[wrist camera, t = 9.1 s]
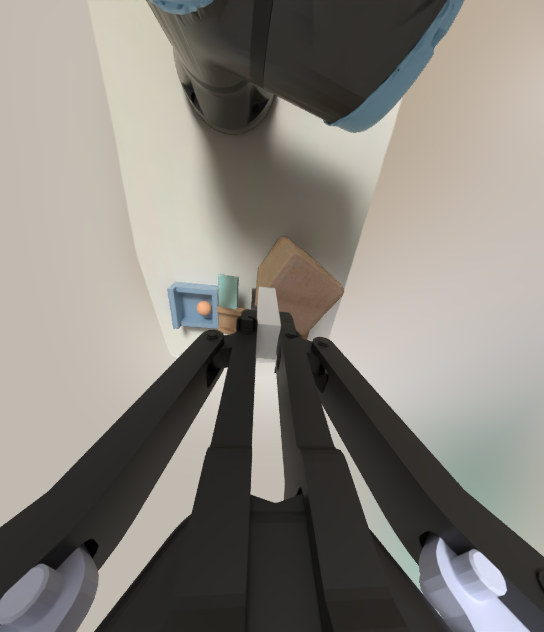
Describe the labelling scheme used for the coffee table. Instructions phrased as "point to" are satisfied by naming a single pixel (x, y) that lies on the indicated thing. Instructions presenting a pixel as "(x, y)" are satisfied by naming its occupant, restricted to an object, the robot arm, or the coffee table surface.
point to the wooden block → (298, 284)
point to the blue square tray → (193, 305)
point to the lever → (230, 304)
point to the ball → (204, 308)
